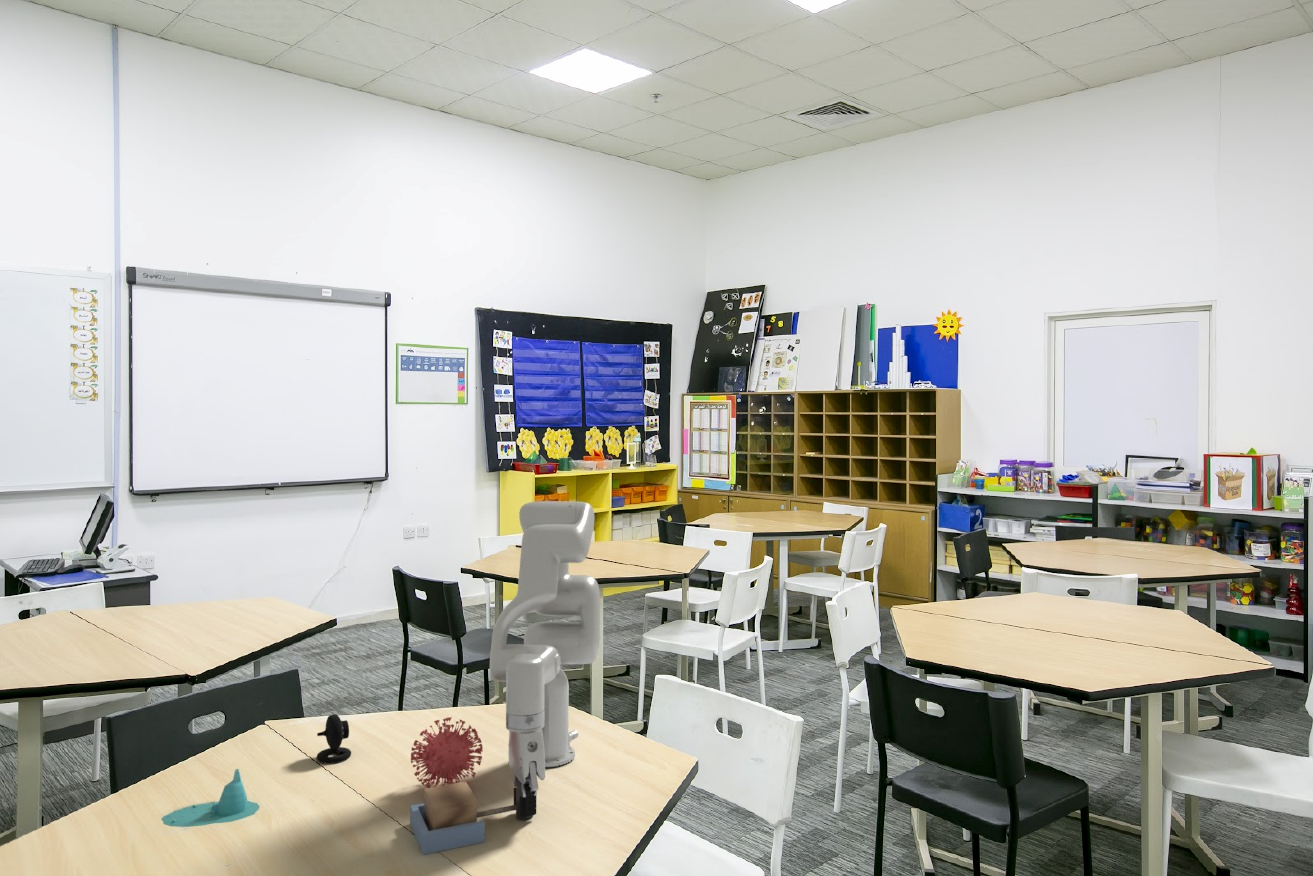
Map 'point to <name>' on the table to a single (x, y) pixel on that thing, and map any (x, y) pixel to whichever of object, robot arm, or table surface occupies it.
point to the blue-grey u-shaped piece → (444, 833)
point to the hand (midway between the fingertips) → (524, 810)
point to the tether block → (459, 806)
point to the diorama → (216, 808)
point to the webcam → (334, 740)
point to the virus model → (446, 754)
